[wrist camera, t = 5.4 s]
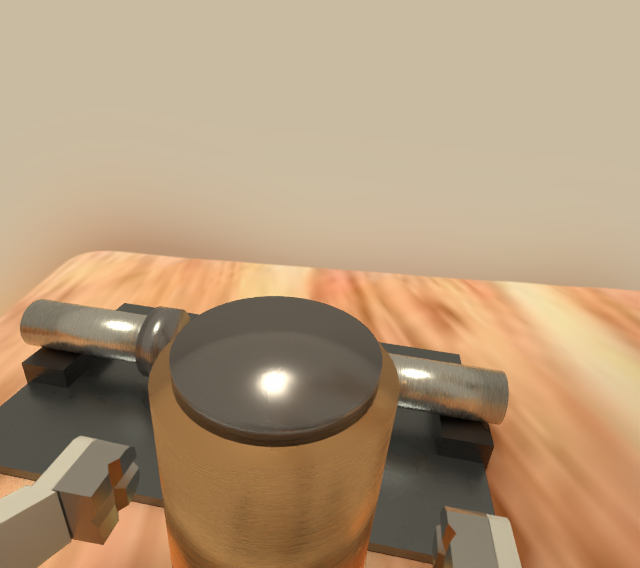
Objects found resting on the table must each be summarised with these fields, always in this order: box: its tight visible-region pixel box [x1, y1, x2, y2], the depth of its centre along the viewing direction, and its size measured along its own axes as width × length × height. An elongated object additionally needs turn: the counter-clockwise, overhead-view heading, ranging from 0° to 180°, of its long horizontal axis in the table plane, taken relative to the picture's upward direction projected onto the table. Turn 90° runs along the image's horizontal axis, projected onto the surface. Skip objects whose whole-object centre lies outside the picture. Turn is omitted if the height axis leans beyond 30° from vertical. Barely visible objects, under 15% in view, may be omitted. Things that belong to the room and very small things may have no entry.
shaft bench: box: [0, 299, 508, 564], centre depth 23 cm, size 25×14×5 cm, turn 81°
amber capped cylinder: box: [148, 296, 400, 568], centre depth 11 cm, size 5×5×12 cm
